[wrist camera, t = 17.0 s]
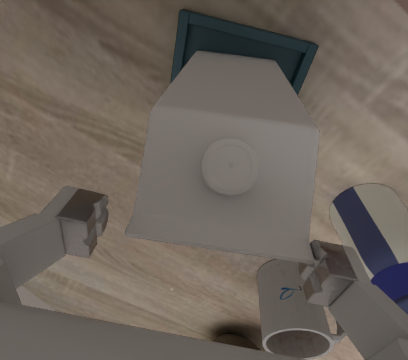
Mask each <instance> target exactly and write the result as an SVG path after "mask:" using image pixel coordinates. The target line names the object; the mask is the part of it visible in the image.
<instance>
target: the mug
mask: <svg viewBox="0 0 408 360" xmlns="http://www.w3.org/2000/svg"><path fill="white" fill-rule="evenodd" d="M257 282H258V294H259V307H260V319H261V332H262V344H263V347H264V349H265V350H266V351H267V352H270V353H275V354H280V355H285V356H291V357H296V358H301V359H306V360H307V359H314V358H318V357H321V356H324V355H326V354H327V353H329V352H330V351H331V350H332V349H333V346H334V343H339V342H340V341H341V340H342V339H343V338H344V337H345V335H346V333H345V331H344V330H343V329H342V327H341V326H340V324H339V323H338V322H337V320H336V323H337V334H331V332H330V329H329V325H328V322H327V318H326V315H325V311H324V308H323V306H320V305H316V304H312V303H307V300H306V296H305V292H304V289H303V285H304V284H305V281H304V280H303V278H302V277H301V276H300V272H299V262H293V261H286V260H280V259H275V260H272V261H269V262H267V263H265V264H264V265H263V266H261V268H260V269H259V270H258V273H257Z"/></svg>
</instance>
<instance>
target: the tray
mask: <svg viewBox="0 0 408 360" xmlns="http://www.w3.org/2000/svg"><path fill="white" fill-rule="evenodd" d="M318 47H319V45H317V44H315V43H313V42H309V41H305V40H302V39H298V38H294V37H290V36H286V35H282V34H278V33H274V32H270V31H266V30H263V29H259V28H255V27H251V26H247V25H243V24H239V23H235V22H231V21H228V20H224V19H220V18H216V17H212V16H208V15H204V14H200V13H196V12H192V11H189V10H185V9H182V10H180V13H179V21H178V28H177V36H176V44H175V52H174V60H173V67H172V75H171V83H172V82H173V80H174V79H175V78H176V76H177V75H178V74H179V73H180V71H181V70H182V69H183V68H184V66H185V65H186V64H187V62H188V61H189V60H190V59H191V57H192V56H193V55H194V54H195V52H196V51H198V50H200V51H209V52H217V53H225V54H232V55H240V56H248V57H256V58H264V59H271V60H275V61H276V62H277V64H278V66H279V67H280V69H281V70H282V72H283V73H284V75H285V77H286V78H287V80H288V81H289V83H290V85H291V86H292V88H293V89H294V91H295V92H296V94H297V96H298V94H299V91H300V89H301V87H302V84H303V82H304V80H305V77H306V75H307V72H308V70H309V68H310V65H311V63H312V61H313V58H314V56H315V54H316V51H317V49H318ZM171 83H170V84H171Z"/></svg>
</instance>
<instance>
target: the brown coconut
mask: <svg viewBox="0 0 408 360" xmlns="http://www.w3.org/2000/svg"><path fill="white" fill-rule="evenodd" d="M213 342H218V343H223V344H228V345H234V346H239V347H244V348H249V349H254V350H260V349H259V348H258V347H257V346H256V345H255V344H254V343H252V342H251V341H249V340H247V339H245V338H243V337H241V336H238V335H234V334H224V335H221V336H219V337H217V338H215V339H214V340H213ZM260 351H261V350H260Z"/></svg>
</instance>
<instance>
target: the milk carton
mask: <svg viewBox="0 0 408 360" xmlns="http://www.w3.org/2000/svg"><path fill="white" fill-rule="evenodd" d="M319 136H320V131H319V130H318V128H317V126H316V124H315V123H314V121H313V119H312V118H311V116H310V115H309V113H308V111H307V110H306V108H305V107H304V105H303V104H302V102H301V100H300V99H299V97H298V96H297V94H296V92H295V91H294V89H293V88H292V86H291V85H290V83H289V81H288V80H287V78H286V77H285V75H284V73H283V72H282V70H281V69H280V67H279V66H278V64H277V62H276V61H275V60H271V59H264V58H256V57H248V56H240V55H232V54H225V53H217V52H209V51H200V50H198V51H196V52H195V54H194V55H193V56H192V57H191V59H190V60H189V61H188V62H187V64H186V65H185V66H184V68H183V69H182V70H181V71H180V73H179V74H178V75H177V76H176V78H175V79H174V80H173V82H172V83H171V84H170V85H169V87H168V88H167V89H166V90H165V92H164V93H163V94H162V96H161V97H160V98H159V99H158V101H157V102H156V103H155V105H154V106H153V108H152V109H151V113H150V119H149V125H148V131H147V137H146V143H145V149H144V155H143V161H142V166H141V172H140V178H139V184H138V190H137V196H136V202H135V208H134V214H133V216H132V218H131V220H130V222H129V224H128V226H127V228H126V231H125V235H126V237H133V238H140V239H146V240H153V241H160V242H166V243H173V244H180V245H186V246H193V247H200V248H206V249H213V250H220V251H226V252H233V253H240V254H246V255H253V256H260V257H266V258H273V259H280V260H286V261H293V262H300V263H306V264H313V263H314V261H315V260H314V256H313V253H312V249H311V246H310V243H309V231H310V222H311V212H312V203H313V193H314V184H315V174H316V165H317V155H318V146H319Z"/></svg>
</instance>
